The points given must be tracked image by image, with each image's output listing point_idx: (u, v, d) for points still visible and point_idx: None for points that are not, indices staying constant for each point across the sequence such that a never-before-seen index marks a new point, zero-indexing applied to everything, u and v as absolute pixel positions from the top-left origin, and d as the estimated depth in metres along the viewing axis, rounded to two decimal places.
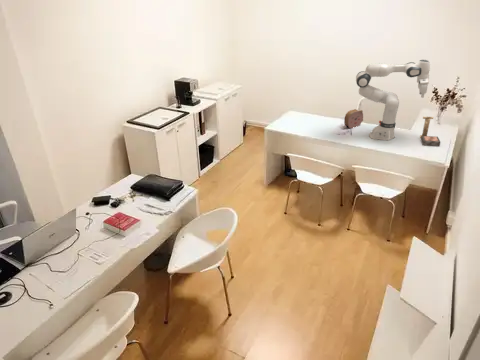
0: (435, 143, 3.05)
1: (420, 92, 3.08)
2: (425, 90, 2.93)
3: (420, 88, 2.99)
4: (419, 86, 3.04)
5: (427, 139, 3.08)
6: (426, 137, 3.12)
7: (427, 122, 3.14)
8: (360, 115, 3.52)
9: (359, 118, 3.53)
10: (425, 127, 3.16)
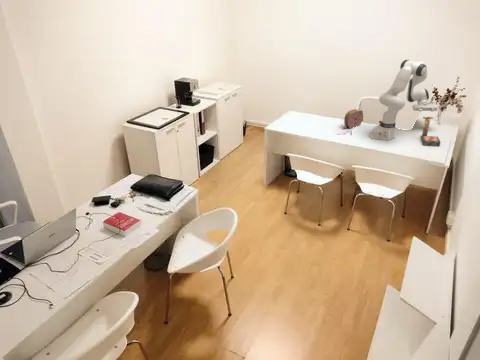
0: (435, 143, 3.05)
1: None
2: None
3: (429, 106, 3.27)
4: (422, 106, 3.28)
5: (427, 139, 3.08)
6: (426, 137, 3.12)
7: (427, 122, 3.14)
8: (360, 115, 3.52)
9: (359, 118, 3.53)
10: (425, 127, 3.16)
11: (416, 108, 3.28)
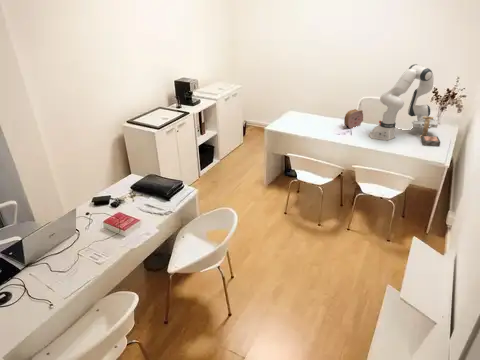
0: (435, 143, 3.05)
1: (423, 126, 3.19)
2: None
3: None
4: (422, 122, 3.23)
5: (427, 139, 3.08)
6: (426, 137, 3.12)
7: (427, 122, 3.14)
8: (360, 115, 3.52)
9: (359, 118, 3.53)
10: (425, 127, 3.16)
11: (416, 124, 3.23)
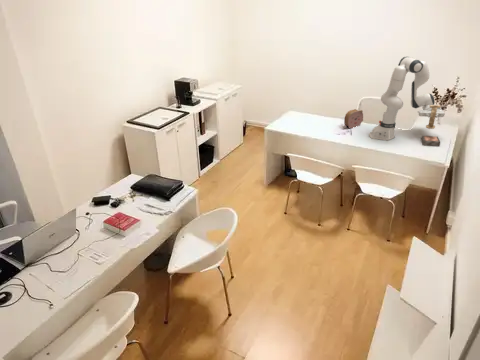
0: (435, 143, 3.05)
1: (430, 115, 3.06)
2: None
3: None
4: (428, 111, 3.10)
5: (427, 139, 3.08)
6: (426, 137, 3.12)
7: (434, 111, 3.01)
8: (360, 115, 3.52)
9: (359, 118, 3.53)
10: (432, 116, 3.04)
11: (422, 114, 3.10)
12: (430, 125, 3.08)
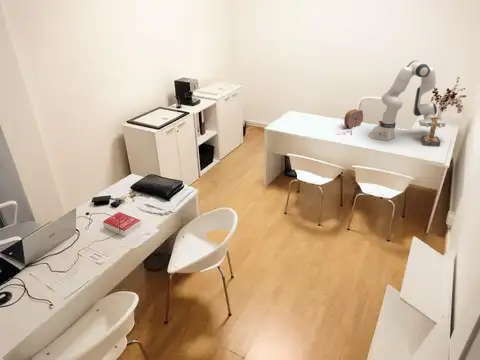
0: (435, 143, 3.05)
1: (428, 125, 3.06)
2: None
3: None
4: (429, 121, 3.09)
5: (427, 139, 3.08)
6: (426, 137, 3.12)
7: (434, 122, 3.01)
8: (360, 115, 3.52)
9: (359, 118, 3.53)
10: (432, 128, 3.03)
11: (423, 123, 3.09)
12: (430, 136, 3.07)
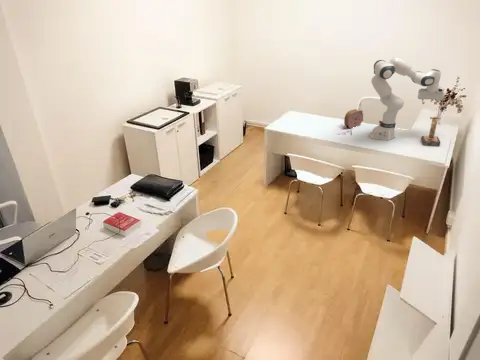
0: (435, 143, 3.05)
1: (424, 102, 3.14)
2: None
3: (435, 96, 3.08)
4: (428, 96, 3.09)
5: (427, 139, 3.08)
6: (426, 137, 3.12)
7: (434, 122, 3.01)
8: (360, 115, 3.52)
9: (359, 118, 3.53)
10: (432, 128, 3.03)
11: None
12: (430, 136, 3.07)
